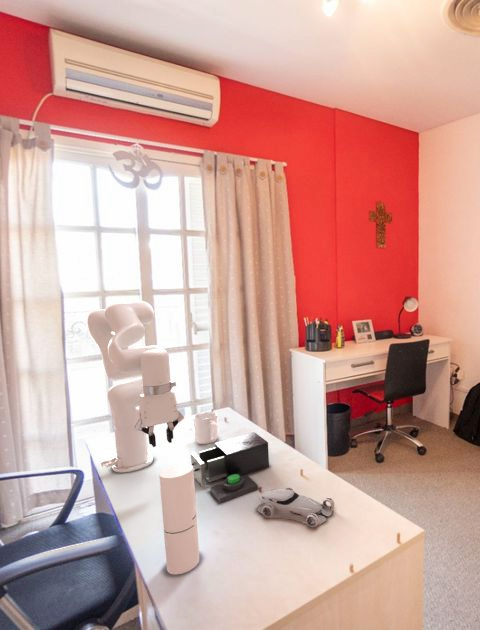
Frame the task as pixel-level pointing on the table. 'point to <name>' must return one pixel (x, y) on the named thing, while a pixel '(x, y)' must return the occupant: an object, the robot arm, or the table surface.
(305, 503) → the car model
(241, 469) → the cabinet
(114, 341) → the robot arm
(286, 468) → the table surface
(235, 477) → the button
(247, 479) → the control block
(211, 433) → the mug
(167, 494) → the cylindrical container
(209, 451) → the drawer
